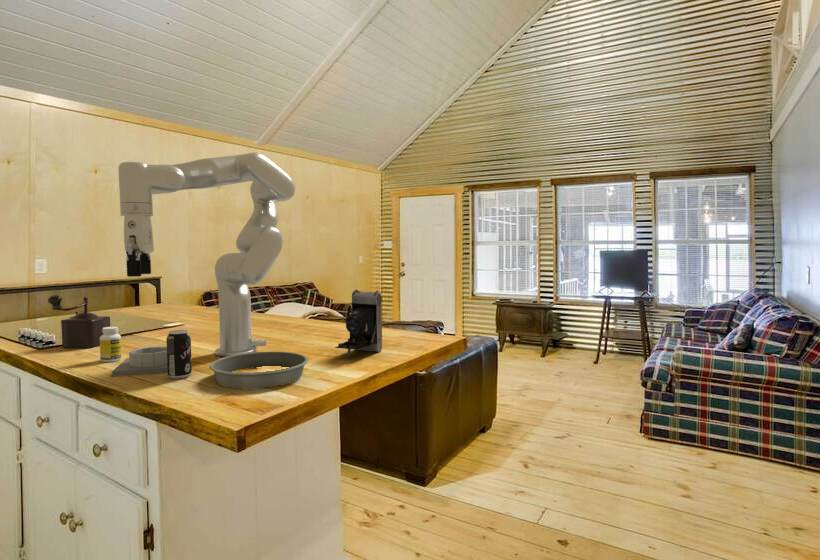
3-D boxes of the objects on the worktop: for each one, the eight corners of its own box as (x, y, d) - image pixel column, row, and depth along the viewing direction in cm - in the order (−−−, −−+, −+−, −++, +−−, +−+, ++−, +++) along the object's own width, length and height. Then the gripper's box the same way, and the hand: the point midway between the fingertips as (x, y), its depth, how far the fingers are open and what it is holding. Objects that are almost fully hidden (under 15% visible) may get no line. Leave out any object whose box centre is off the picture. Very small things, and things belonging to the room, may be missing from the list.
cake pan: (295, 362, 146) (295, 347, 146) (320, 383, 124) (319, 366, 124) (205, 372, 135) (204, 356, 135) (215, 397, 113) (214, 377, 113)
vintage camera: (332, 359, 151) (331, 295, 148) (356, 348, 165) (356, 288, 163) (361, 363, 147) (360, 296, 145) (383, 351, 161) (383, 290, 159)
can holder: (186, 358, 150) (186, 343, 150) (179, 371, 135) (178, 354, 134) (126, 362, 145) (126, 346, 145) (112, 376, 130) (111, 358, 130)
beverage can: (192, 373, 133) (191, 328, 132) (191, 378, 128) (190, 332, 127) (168, 375, 131) (167, 330, 130) (166, 380, 126) (165, 333, 125)
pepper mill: (82, 341, 175) (80, 291, 174) (112, 342, 174) (110, 291, 173) (46, 351, 160) (43, 295, 158) (79, 352, 159) (76, 296, 157)
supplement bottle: (111, 362, 144) (110, 329, 144) (96, 361, 145) (94, 328, 145) (126, 358, 150) (124, 326, 149) (110, 357, 151) (109, 325, 150)
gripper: (143, 208, 123) (146, 277, 125) (160, 212, 140) (162, 272, 141) (109, 208, 122) (113, 277, 123) (130, 212, 138) (133, 273, 140)
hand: (139, 275), depth 132 cm, fingers open, 9 cm apart
